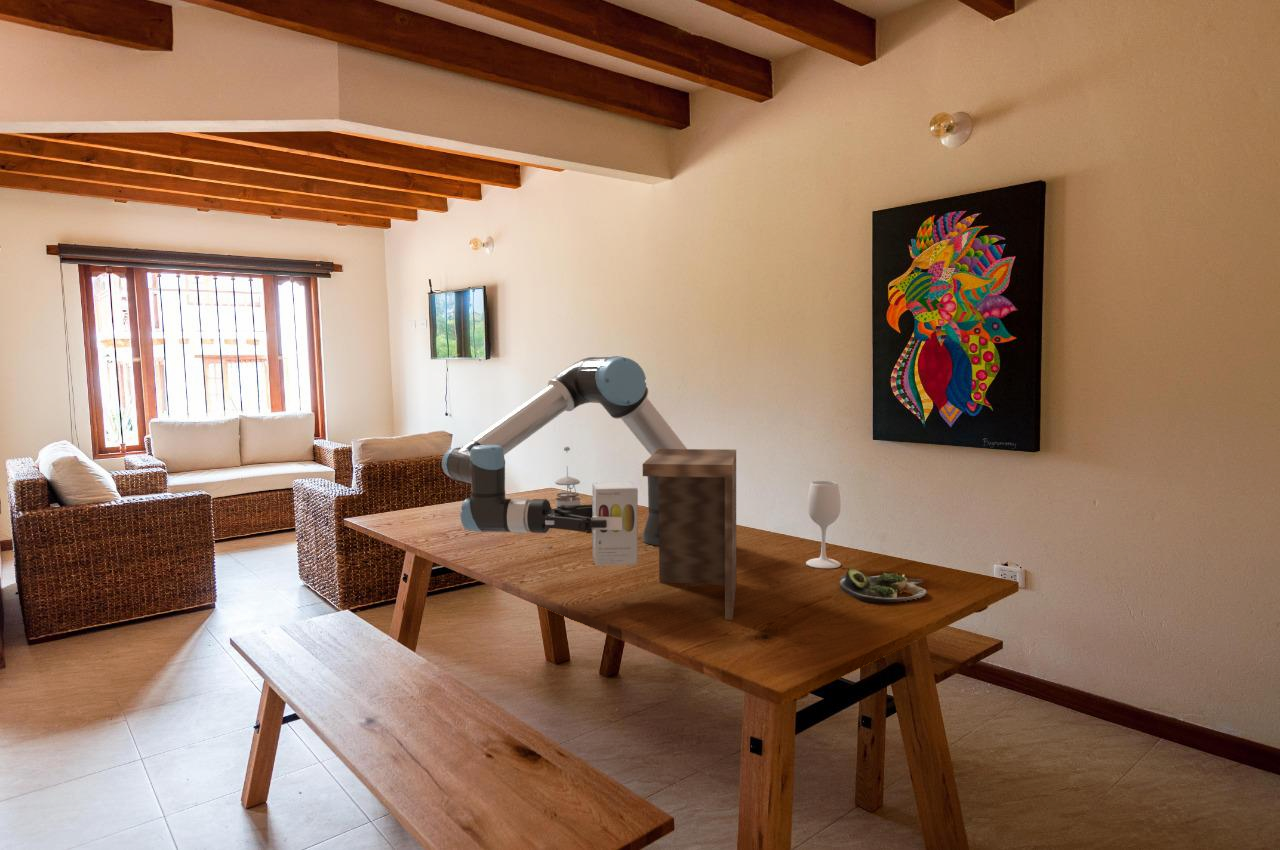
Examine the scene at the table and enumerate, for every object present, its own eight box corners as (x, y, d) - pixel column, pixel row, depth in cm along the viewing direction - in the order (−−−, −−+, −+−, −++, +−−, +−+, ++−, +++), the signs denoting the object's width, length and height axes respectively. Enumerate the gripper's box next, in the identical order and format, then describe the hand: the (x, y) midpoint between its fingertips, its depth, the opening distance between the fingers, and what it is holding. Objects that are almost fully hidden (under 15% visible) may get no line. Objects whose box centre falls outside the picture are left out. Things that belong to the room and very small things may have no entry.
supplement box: (595, 566, 166) (593, 488, 165) (591, 555, 176) (590, 482, 174) (639, 564, 168) (638, 487, 166) (633, 553, 177) (632, 480, 175)
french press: (549, 527, 245) (547, 448, 243) (559, 519, 257) (557, 444, 255) (579, 527, 244) (578, 448, 242) (588, 520, 255) (586, 444, 253)
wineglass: (841, 569, 193) (842, 485, 191) (806, 568, 194) (806, 485, 193) (840, 560, 201) (840, 480, 199) (805, 559, 203) (806, 479, 201)
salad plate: (902, 578, 186) (903, 559, 186) (948, 600, 169) (948, 579, 168) (828, 584, 182) (828, 565, 181) (867, 608, 164) (867, 586, 164)
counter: (644, 616, 159) (642, 463, 157) (660, 580, 185) (659, 449, 182) (732, 619, 157) (732, 464, 154) (736, 583, 182) (736, 449, 180)
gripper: (545, 521, 186) (635, 523, 182) (514, 544, 162) (617, 547, 159) (544, 490, 185) (635, 491, 182) (513, 509, 162) (617, 511, 158)
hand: (627, 517), depth 170 cm, fingers closed on supplement box, 11 cm apart
